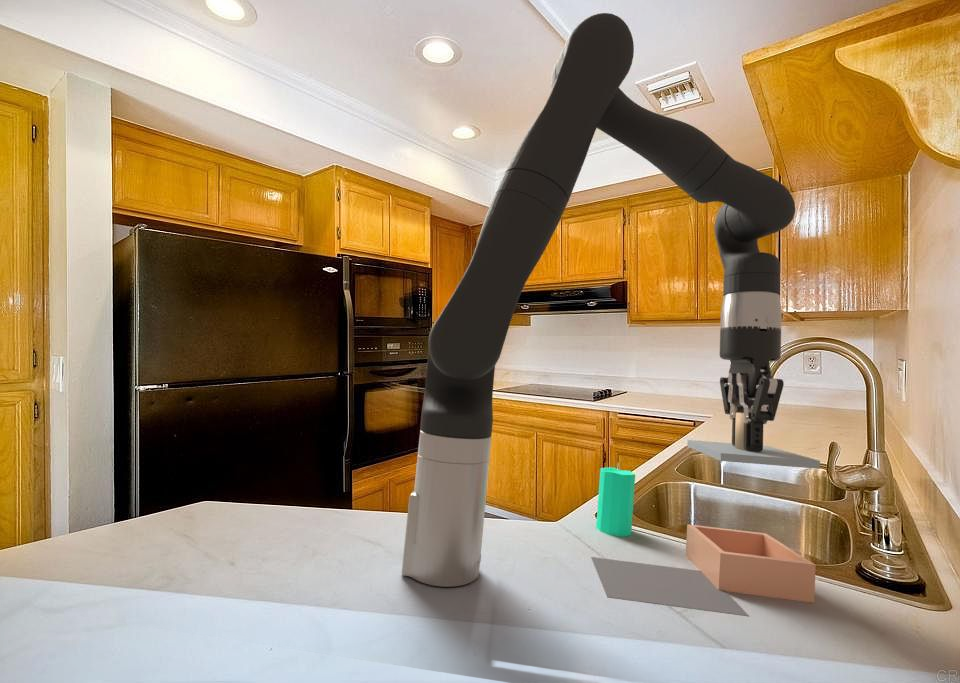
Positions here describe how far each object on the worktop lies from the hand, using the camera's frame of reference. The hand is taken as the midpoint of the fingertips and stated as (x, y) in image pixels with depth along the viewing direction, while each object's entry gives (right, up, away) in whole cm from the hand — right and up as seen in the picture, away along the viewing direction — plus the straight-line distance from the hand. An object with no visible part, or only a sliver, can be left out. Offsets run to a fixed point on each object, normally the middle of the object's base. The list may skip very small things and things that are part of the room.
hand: (746, 448), depth 64 cm
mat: (-14, -17, -5) cm, 22 cm away
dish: (-1, -18, -1) cm, 18 cm away
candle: (-15, -18, +15) cm, 28 cm away
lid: (0, -1, 0) cm, 1 cm away
